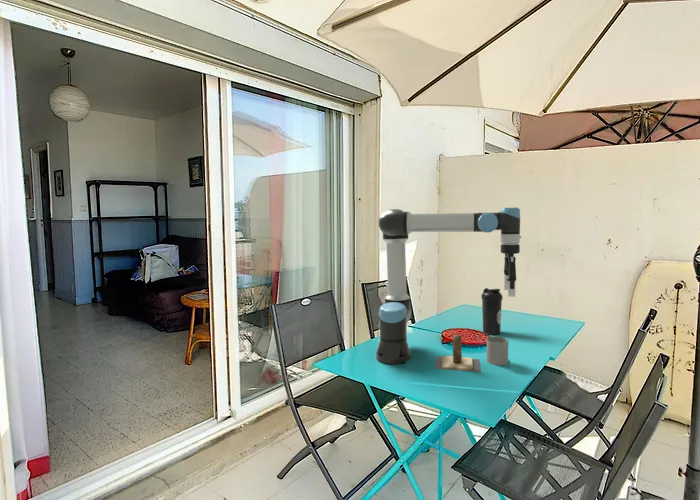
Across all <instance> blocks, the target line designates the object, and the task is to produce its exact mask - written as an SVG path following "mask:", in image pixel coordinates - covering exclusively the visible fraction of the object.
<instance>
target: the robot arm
mask: <svg viewBox="0 0 700 500" xmlns="http://www.w3.org/2000/svg"><path fill="white" fill-rule="evenodd" d="M378 227H379V229H380V231H381V232H382V240H383V241H384V242H385V243H386V269H387V270H386V271H387V273H386V275H387V295H385V296H384V303H383V304H382V305H380V307H379V309H378V316H379V343H378V345H377V348H376V355H375V358H376V360H377V362H380V363H382V364H386V365H387V364H388V365H401V364H404V363H405V364H406V362H409V361H410V360H411V359H412V351H411V350H410V347H409V344H408V343H409V342H408V340H407V338H408V337H407V324H408V323H409V321H410V319H411V317H412V313H413V312H412V306H411V296H409V294H408V293H407V265H406V261H407V260H406V258H407V257H406V242H407V240H409V235H410V234H411V233H452V232H454V233H464V232H465V233H469V232H470V233H472V232H473V233H492V232H494V231H500V244H501V245H500V253H501V254H504V267H503V274H504V278H503V280H504V281H503V282H504V284H503V286H504V287H503V290H504V291H507V296H508V297H511V298H513V297H514V298H515V297H516V281H517V270H516V269H517V268H516V260H517V259H516V256H515V255H516V254H520V252H521V248H520V247H521V246H520V242H521V239H522V236H521V235H520V233H521V210H520V208H519V207H502V208H501V209H500V211H499V212H474V213H473V212H469V213H468V212H466V213H465V212H464V213H463V212H460V213H456V212H455V213H411V212H410V211H403V210H402V209H398V208H397V209H396V208H394V209H393V208H392V209H391V208H390V209H387V210H385V211H384V212H382V213H381V214H380V216H379V218H378Z"/></svg>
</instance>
